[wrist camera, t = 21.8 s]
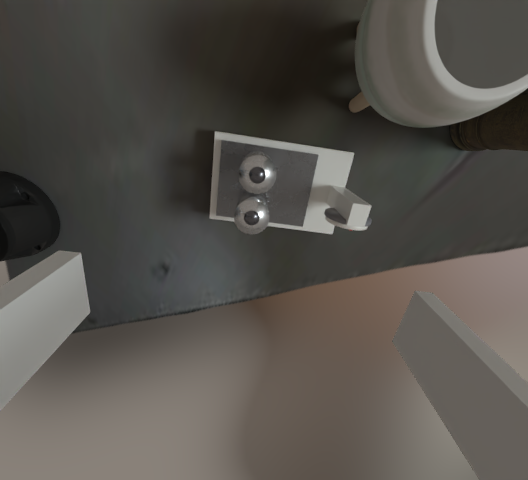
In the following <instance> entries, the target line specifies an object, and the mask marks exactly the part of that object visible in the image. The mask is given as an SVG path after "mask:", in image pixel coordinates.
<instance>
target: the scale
mask: <svg viewBox="0 0 528 480" xmlns="http://www.w3.org/2000/svg"><path fill="white" fill-rule="evenodd" d="M221 140H227V141H234V142H240V143H247V144H253V145H260V146H266V147H273V148H279V149H286V150H293V151H299V152H306V153H312V154H318V155H319V156H318V160H317V165H316V169H315V174H314V178H313V183H312V187H311V192H310V197H309V201H308V206H307V210H306V215H305V219H304V224H303V227H301V226H293V225H285V224H278V223H270V222H269V223H268V225H267V226H273V227H280V228H288V229H296V230H304V231H312V232H319V233H327V234H333V230H334V226H338V227H341V228H345V229H349V230H350V231H352V230H366V229H367V227H368V226H370V225H371V222H372V219H371V218H369V217H368V215H369V212H370V209H371V205H370V204H368V203H367V202H365V201H364V200H362V199H361V198H359V197H358V196H356V195H355V194H354V193H352V192H351V191H349V190H348V189H346V188H345V186H346V182H347V179H348V175H349V171H350V168H351V164H352V160H353V157H354V153H352V152H348V151H342V150H335V149H329V148H322V147H316V146H309V145H303V144H297V143H290V142H284V141H277V140H271V139H264V138H258V137H251V136H245V135H239V134H232V133H226V132H219V131H215V138H214V154H213V170H212V186H211V202H210V219H218V220H226V221H234V218H231V217H224V216H216V209H217V195H218V181H219V168H220V154H221ZM234 222H235V221H234Z"/></svg>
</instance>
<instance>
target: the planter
mask: <svg viewBox="0 0 528 480" xmlns="http://www.w3.org/2000/svg"><path fill="white" fill-rule="evenodd" d="M355 69H356V75H357V79H358V83H359V86H360V88H361V92H360V93H359V94H358V95H356V96H355V97H354V98H353V99H352V100H351V101H350V103H349V109H350V111H351V112H353V113H356V112H359V111H361V110H363V109H364V108H366V107H368V106H370V105H371V106H372V107H373V109H374V110H375V111H377V112H378V113H379V114H380V115H382V116H383V117H384V118H386V119H388V120H390V121H392V122H394V123H397V124H400V125H404V126H409V127H420V128H427V127H439V126H445V125H450V124H454V123H458V122H462V121H465V120H468V119H471V118H474V117H476V116H479V115H481V114H484V113H486V112H488V111H490V110H492V109H494V108H496V107H498V106H500V105H502V104H504V103H506V102H507V101H509V100H511V99H512V98H514V97H516V96H517V95H519V94H520V93H522V92H523V91H525V90H526V89H527V88H528V0H368V1H367V4H366V6H365V9H364V11H363V14H362V17H361V20H360V22H359V24H358V26H357V36H356V43H355Z"/></svg>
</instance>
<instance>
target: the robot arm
mask: <svg viewBox="0 0 528 480" xmlns="http://www.w3.org/2000/svg"><path fill="white" fill-rule="evenodd" d="M59 231H60V221H59V216H58V213H57V211H56V209H55V207H54V205H53V203H52V202H51V200H50V199H49V198H48V196H47V195H46V194H45V193H44V192H43V191H42V190H41V189H40V188H39V187H37V186H36V185H35V184H33V183H32V182H30V181H28V180H27V179H25V178H23V177H20V176H18V175H15V174H12V173H8V172H0V261H5V260H10V259H16V258H21V257H26V256H31V255H34V254H37V253H39V252H41V251H43V250H44V249H46V248H48V247H50V246H51V245H52V244H53V243H54V242H55V241H56V239H57V237H58V235H59ZM89 313H90V308H89V301H88V295H87V289H86V282H85V276H84V270H83V263H82V257H81V253H77V252H68V251H58V252H56V253H54V254H53V255H51V256H49V257H48V258H46V259H45V260H43V261H41V262H40V263H38V264H36V265H35V266H33V267H32V268H30V269H28V270H27V271H25V272H23V273H22V274H20V275H19V276H17V277H15V278H14V279H12V280H10V281H9V282H7V283H6V284H4V285H2V286H1V287H0V411H1V410H2V408H3V407H4V406H5V405H6V404H7V403H8V402H9V401H10V400H11V399H12V398H13V396H14V395H15V394H16V393H17V392H18V391H19V390H20V389H21V388H22V386H23V385H24V384H25V383H26V382H27V381H28V380H29V379H30V378H31V377H32V376H33V374H34V373H35V372H36V371H37V370H38V369H39V368H40V367H41V366H42V365H43V363H44V362H45V361H46V360H47V359H48V358H49V357H50V356H51V355H52V354H53V352H54V351H55V350H56V349H57V348H58V347H59V346H60V345H61V344H62V343H63V342H64V340H65V339H66V338H67V337H68V336H69V335H70V334H71V333H72V332H73V331H74V329H75V328H76V327H77V326H78V325H79V324H80V323H81V322H82V321H83V320H84V318H85V317H86V316H87V315H88V314H89ZM392 342H393V344H394V345H395V347H396V348H397V350H398V352H399V353H400V355H401V356H402V358H403V359H404V361H405V363H406V364H407V366H408V367H409V369H410V371H411V372H412V374H413V375H414V377H415V378H416V380H417V382H418V383H419V385H420V386H421V388H422V390H423V391H424V393H425V394H426V396H427V398H428V399H429V401H430V402H431V404H432V405H433V407H434V409H435V410H436V412H437V413H438V415H439V416H440V418H441V420H442V421H443V423H444V425H445V426H446V428H447V429H448V431H449V432H450V434H451V436H452V437H453V439H454V440H455V442H456V444H457V445H458V447H459V448H460V450H461V451H462V453H463V455H464V456H465V458H466V459H467V461H468V463H469V464H470V466H471V467H472V469H473V470H474V472H475V474H476V475H477V477H478V478H479V480H528V382H527V381H525V380H524V379H523V378H522V377H521V376H520V375H519V374H518V373H517V372H516V371H515V370H514V369H513V368H512V367H511V366H510V365H509V364H507V363H506V362H505V361H504V360H503V359H502V358H501V357H500V356H499V355H498V354H497V353H496V352H495V351H494V350H493V349H491V348H490V347H489V346H488V345H487V344H486V343H485V342H484V341H483V340H482V339H481V338H480V337H479V336H478V335H477V334H476V333H475V332H473V331H472V330H471V329H470V328H469V327H468V326H467V325H466V324H465V323H464V322H463V321H462V320H461V319H460V318H459V317H458V316H457V315H455V314H454V313H453V312H452V311H451V310H450V309H449V308H448V307H447V306H446V305H445V304H444V303H443V302H442V301H441V300H440V299H438V298H437V297H436V296H435V295H434V294H433V293H429V292H420V291H415V292H414V294H413V296H412V299H411V301H410V303H409V305H408V307H407V310H406V312H405V314H404V316H403V318H402V321H401V323H400V325H399V327H398V329H397V332H396V334H395V336H394V338H393V340H392Z"/></svg>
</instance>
